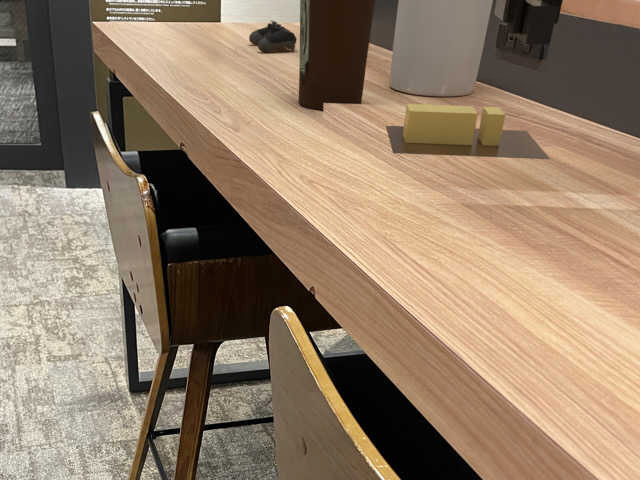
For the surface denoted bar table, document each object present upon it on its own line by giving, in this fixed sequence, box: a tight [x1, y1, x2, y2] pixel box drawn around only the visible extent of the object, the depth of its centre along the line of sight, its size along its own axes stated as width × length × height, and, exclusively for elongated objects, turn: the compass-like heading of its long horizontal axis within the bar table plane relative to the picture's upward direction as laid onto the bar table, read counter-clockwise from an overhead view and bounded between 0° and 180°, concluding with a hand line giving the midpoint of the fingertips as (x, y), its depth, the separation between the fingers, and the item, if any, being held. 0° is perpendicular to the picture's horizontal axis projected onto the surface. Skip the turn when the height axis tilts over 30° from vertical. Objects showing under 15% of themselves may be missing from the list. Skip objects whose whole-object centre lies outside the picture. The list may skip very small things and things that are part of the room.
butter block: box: [403, 103, 479, 145], centre depth 99 cm, size 8×4×4 cm, turn 86°
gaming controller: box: [248, 20, 298, 53], centre depth 163 cm, size 12×8×5 cm, turn 10°
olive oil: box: [298, 0, 376, 111], centre depth 115 cm, size 11×11×25 cm
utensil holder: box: [389, 0, 494, 98], centre depth 128 cm, size 15×15×18 cm
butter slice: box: [478, 106, 506, 146], centre depth 99 cm, size 2×4×4 cm, turn 175°
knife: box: [494, 0, 558, 46], centre depth 83 cm, size 22×2×3 cm, turn 176°
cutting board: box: [385, 125, 551, 160], centre depth 100 cm, size 18×14×2 cm
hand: (527, 30), depth 79 cm, fingers closed on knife, 2 cm apart
